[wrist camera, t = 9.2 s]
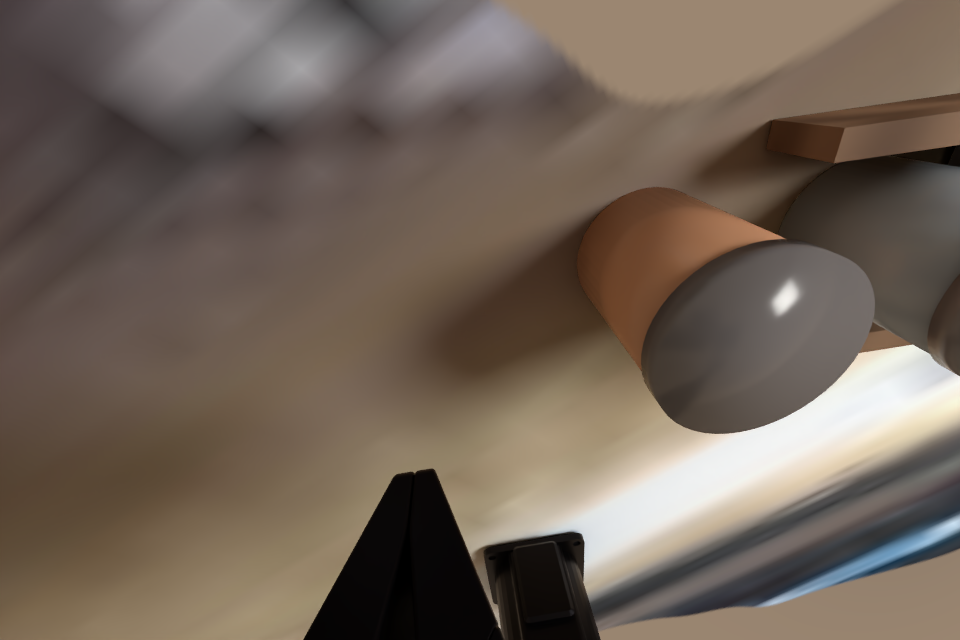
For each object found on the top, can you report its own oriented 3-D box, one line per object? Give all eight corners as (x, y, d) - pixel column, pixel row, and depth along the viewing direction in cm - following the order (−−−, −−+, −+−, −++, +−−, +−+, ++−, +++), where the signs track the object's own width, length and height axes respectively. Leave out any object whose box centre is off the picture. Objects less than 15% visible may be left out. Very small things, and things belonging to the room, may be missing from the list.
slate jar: (880, 275, 19) (1102, 371, 13) (758, 294, 19) (921, 400, 12) (939, 140, 16) (1267, 177, 10) (793, 161, 16) (1031, 213, 9)
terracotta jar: (698, 304, 19) (831, 416, 12) (573, 324, 18) (644, 447, 12) (722, 172, 16) (913, 233, 9) (573, 194, 15) (667, 270, 9)
